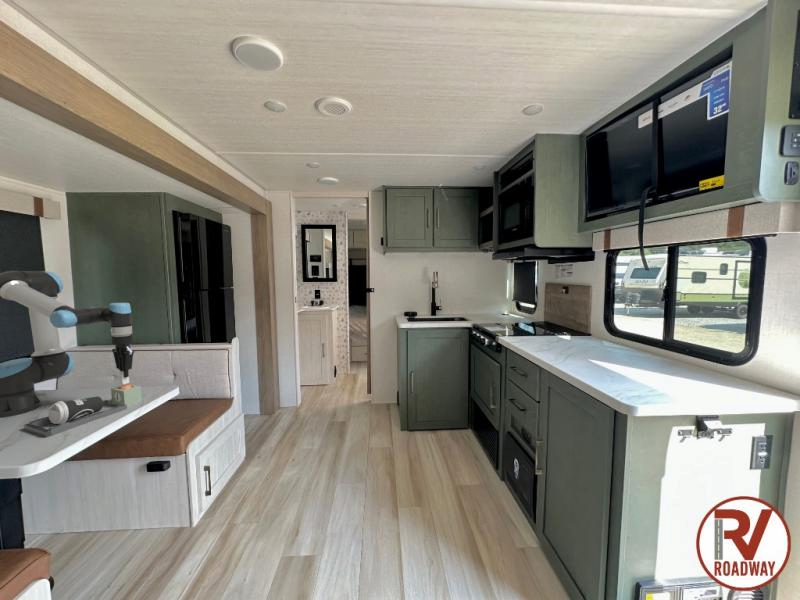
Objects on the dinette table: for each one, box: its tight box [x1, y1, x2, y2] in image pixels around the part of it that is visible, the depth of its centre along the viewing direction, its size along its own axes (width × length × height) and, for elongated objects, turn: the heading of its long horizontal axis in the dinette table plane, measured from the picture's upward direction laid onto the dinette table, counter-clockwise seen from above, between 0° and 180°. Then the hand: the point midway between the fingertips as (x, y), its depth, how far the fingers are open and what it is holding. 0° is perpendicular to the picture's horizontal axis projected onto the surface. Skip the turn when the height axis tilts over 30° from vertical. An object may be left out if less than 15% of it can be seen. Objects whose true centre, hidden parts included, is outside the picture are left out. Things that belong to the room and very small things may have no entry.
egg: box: [119, 383, 132, 390], centre depth 152 cm, size 4×4×6 cm
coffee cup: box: [47, 395, 104, 425], centre depth 137 cm, size 10×10×15 cm
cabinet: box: [110, 384, 143, 407], centre depth 152 cm, size 10×8×8 cm
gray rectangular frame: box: [23, 399, 128, 438], centre depth 136 cm, size 17×26×2 cm, turn 159°
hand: (125, 383), depth 152 cm, fingers closed
